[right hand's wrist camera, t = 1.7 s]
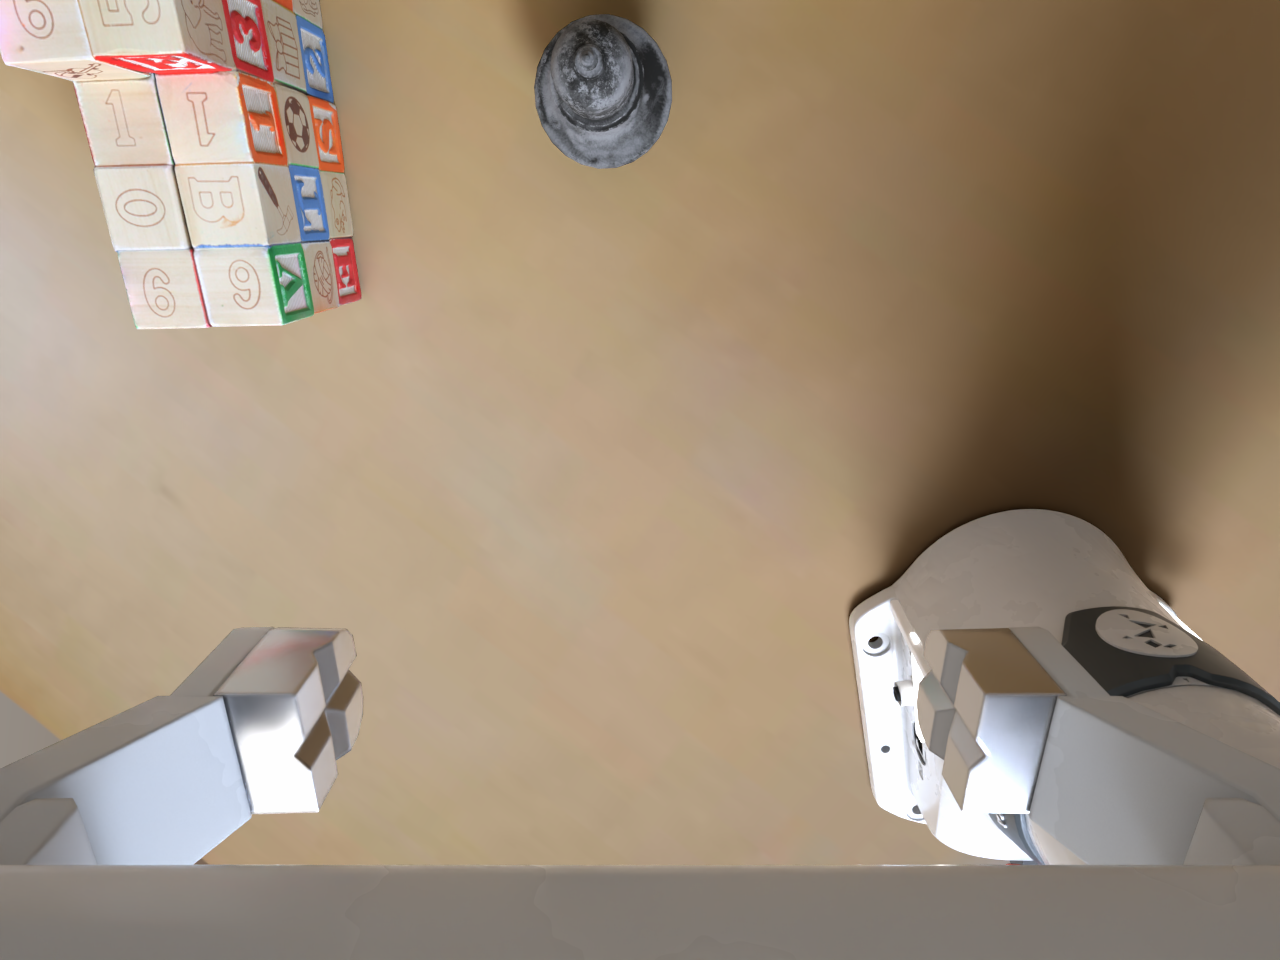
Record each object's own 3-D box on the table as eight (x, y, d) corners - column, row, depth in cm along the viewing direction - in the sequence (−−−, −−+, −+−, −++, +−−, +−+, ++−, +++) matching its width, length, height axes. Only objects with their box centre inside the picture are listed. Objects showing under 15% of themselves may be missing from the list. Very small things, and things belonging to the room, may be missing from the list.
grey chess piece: (521, 121, 35) (460, 81, 24) (591, 3, 33) (559, -100, 22) (623, 197, 36) (610, 194, 25) (695, 87, 34) (716, 31, 23)
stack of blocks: (367, 301, 38) (244, 343, 27) (248, 303, 38) (75, 345, 27) (292, -222, 31) (76, -477, 19) (144, -217, 31) (-157, -466, 19)
